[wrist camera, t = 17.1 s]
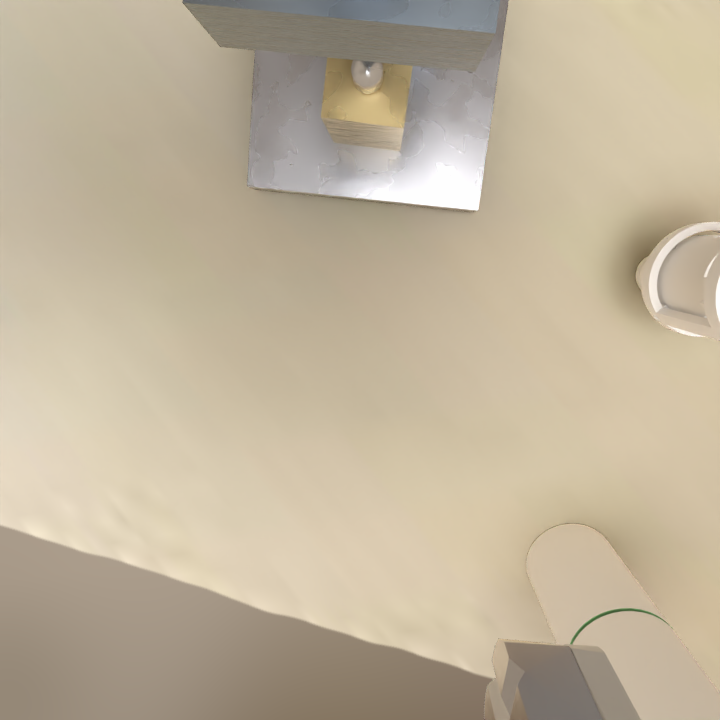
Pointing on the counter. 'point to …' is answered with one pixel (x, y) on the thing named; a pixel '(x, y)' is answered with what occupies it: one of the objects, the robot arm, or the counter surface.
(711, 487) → the counter surface
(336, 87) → the block
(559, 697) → the robot arm
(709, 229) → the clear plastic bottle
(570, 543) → the cylindrical container
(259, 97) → the press
